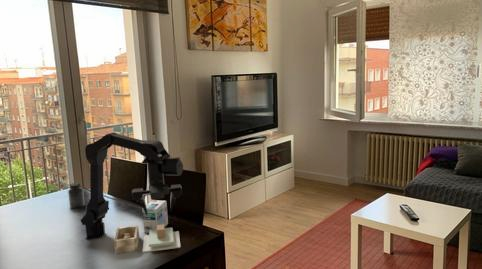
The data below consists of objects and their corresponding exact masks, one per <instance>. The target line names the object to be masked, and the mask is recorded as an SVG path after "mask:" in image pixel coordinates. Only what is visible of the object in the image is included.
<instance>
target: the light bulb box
mask: <svg viewBox="0 0 482 269" xmlns="http://www.w3.org/2000/svg"><path fill="white" fill-rule="evenodd" d="M146 207H147V215H146V213H145V211H144V209H143V207H142V209H141V211H142V221H143V231H144V234H145V233H146V234H149V232H150V230H155V229H157V225H162V224H164V228H166V227H167V226H168V224H169V218H168V204H167V200H161V199H160V200H159V199H154V200H153V199H151V200H150V202H149V203H146Z"/></svg>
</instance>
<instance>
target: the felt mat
mask: <svg viewBox="0 0 482 269" xmlns="http://www.w3.org/2000/svg"><path fill="white" fill-rule="evenodd" d="M173 240H174V244H169V245H167V246H160V247H149V234H144V236H143V241H142V242H143V244H142V253H149V252H156V251H163V250H170V249H180V248H181V247H182V246H181V241H180V231H179V230H177V231H173Z"/></svg>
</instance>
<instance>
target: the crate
mask: <svg viewBox="0 0 482 269" xmlns="http://www.w3.org/2000/svg"><path fill="white" fill-rule="evenodd" d="M139 240H140V231H139V225H138V224H137V225H131V226H123V227H117V229H116V232H115V235H114V239H113V244H114V254H121V253H130V252H137V251H138V248H139Z"/></svg>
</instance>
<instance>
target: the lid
mask: <svg viewBox="0 0 482 269" xmlns="http://www.w3.org/2000/svg"><path fill="white" fill-rule="evenodd" d="M173 232H174V229H173V227H171V226H170V227H164V224H162V225H157V229H155V230H150V232H149V233H148V235H149V247H160V246H167V245H169V244H174V240H173Z"/></svg>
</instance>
